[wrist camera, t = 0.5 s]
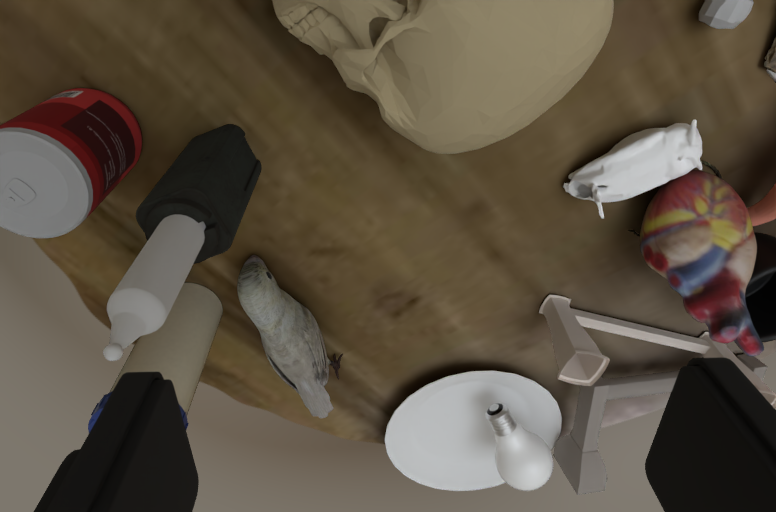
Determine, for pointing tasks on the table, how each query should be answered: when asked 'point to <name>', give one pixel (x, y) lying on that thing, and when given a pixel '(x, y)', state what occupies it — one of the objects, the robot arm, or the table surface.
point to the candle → (182, 230)
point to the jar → (180, 342)
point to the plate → (465, 427)
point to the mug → (763, 289)
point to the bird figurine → (638, 164)
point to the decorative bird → (287, 335)
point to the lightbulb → (518, 451)
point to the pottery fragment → (771, 61)
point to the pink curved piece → (764, 209)
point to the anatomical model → (705, 253)
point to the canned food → (64, 160)
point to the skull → (455, 59)
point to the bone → (725, 12)
